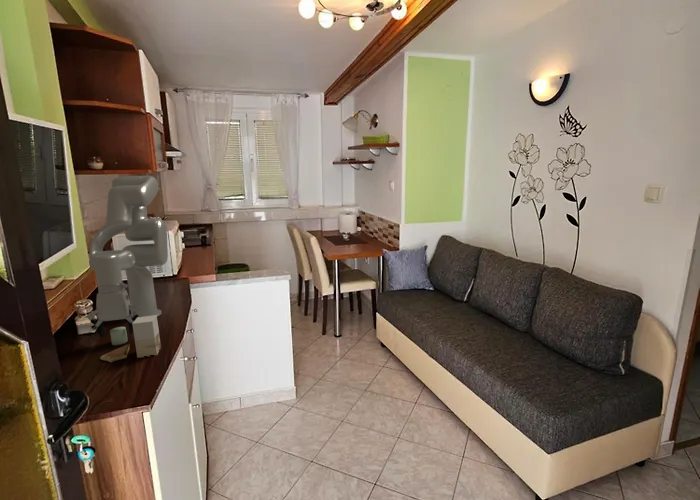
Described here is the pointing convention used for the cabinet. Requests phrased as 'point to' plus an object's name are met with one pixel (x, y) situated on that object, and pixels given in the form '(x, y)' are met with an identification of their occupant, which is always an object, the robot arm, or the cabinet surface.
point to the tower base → (148, 346)
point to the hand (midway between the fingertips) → (117, 334)
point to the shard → (116, 354)
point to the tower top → (145, 327)
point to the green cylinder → (118, 335)
